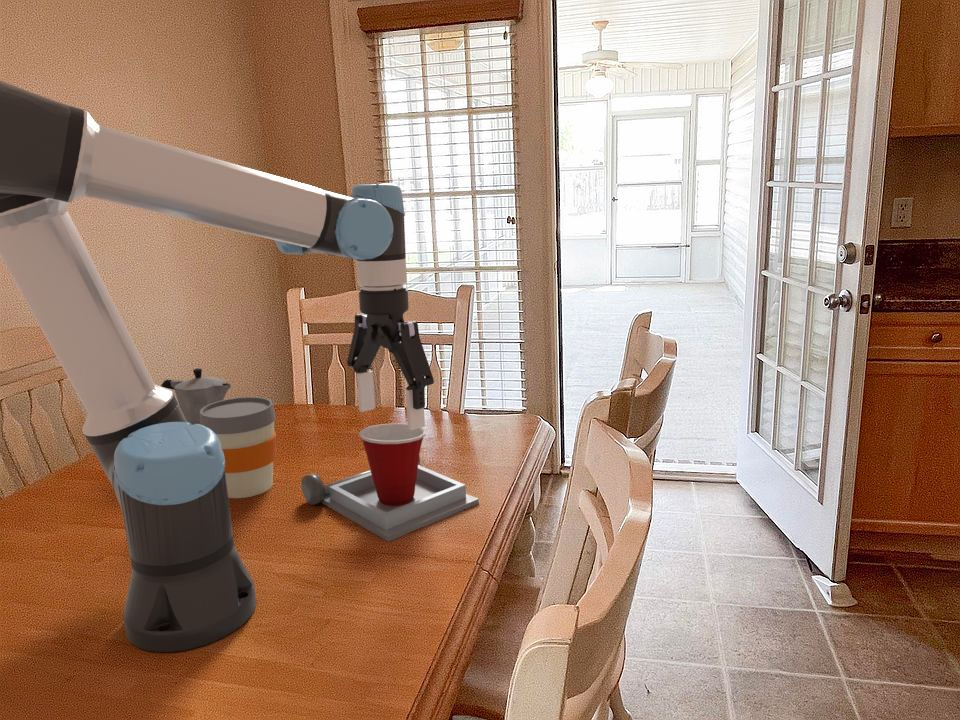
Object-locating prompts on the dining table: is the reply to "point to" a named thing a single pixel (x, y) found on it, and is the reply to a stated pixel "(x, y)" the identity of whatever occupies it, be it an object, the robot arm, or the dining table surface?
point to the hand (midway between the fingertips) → (390, 418)
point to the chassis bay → (388, 522)
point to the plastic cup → (393, 460)
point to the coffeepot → (197, 393)
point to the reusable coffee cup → (244, 442)
